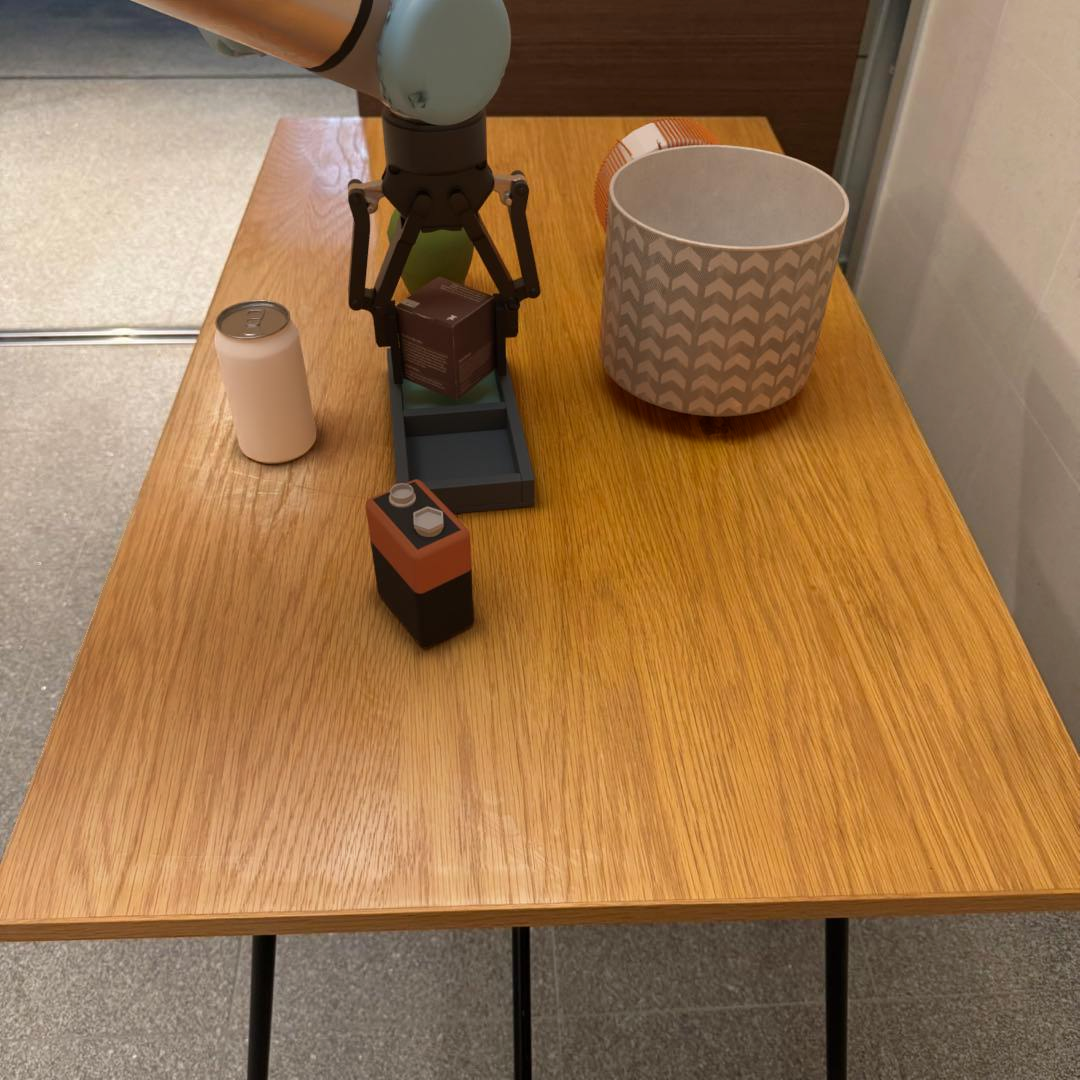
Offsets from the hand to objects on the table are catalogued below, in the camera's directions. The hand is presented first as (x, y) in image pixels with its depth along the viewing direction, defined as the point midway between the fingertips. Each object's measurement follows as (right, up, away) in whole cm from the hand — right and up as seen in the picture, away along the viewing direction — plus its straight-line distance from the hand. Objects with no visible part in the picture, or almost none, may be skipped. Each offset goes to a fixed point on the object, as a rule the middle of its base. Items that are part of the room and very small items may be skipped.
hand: (449, 371), depth 87 cm
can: (-14, -7, -2) cm, 16 cm away
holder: (+1, -6, -1) cm, 6 cm away
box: (0, 0, 0) cm, 1 cm away
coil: (+21, +15, +21) cm, 34 cm away
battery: (0, -20, -16) cm, 25 cm away
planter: (+23, 0, +5) cm, 23 cm away
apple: (-3, +9, +15) cm, 18 cm away
